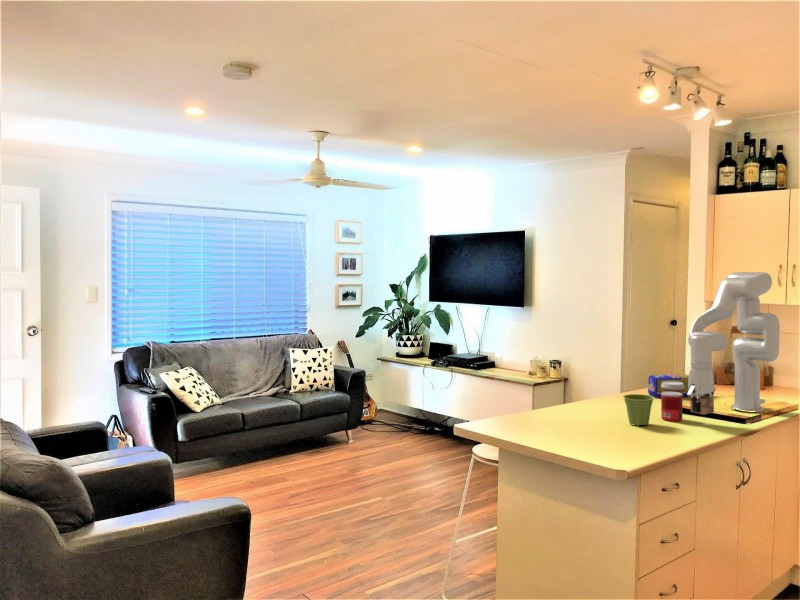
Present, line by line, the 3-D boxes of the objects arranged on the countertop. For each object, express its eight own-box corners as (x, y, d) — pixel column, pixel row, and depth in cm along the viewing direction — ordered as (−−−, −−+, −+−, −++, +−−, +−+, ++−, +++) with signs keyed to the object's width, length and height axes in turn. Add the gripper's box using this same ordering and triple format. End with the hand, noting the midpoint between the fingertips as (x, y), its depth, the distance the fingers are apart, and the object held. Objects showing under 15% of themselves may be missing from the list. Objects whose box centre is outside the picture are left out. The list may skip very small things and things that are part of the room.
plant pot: (655, 422, 257) (655, 394, 256) (653, 429, 246) (653, 400, 246) (624, 419, 262) (624, 392, 261) (621, 426, 251) (621, 398, 250)
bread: (645, 394, 308) (645, 373, 308) (695, 393, 309) (695, 372, 309) (654, 399, 298) (654, 377, 297) (706, 397, 299) (706, 376, 298)
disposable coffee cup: (661, 411, 274) (660, 384, 273) (660, 406, 282) (660, 380, 282) (685, 413, 270) (685, 385, 269) (684, 408, 279) (684, 381, 278)
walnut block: (700, 409, 255) (700, 394, 254) (713, 412, 249) (713, 397, 249) (690, 411, 252) (690, 396, 251) (703, 414, 247) (703, 399, 246)
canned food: (684, 422, 256) (684, 395, 255) (663, 421, 257) (663, 395, 256) (680, 417, 263) (679, 391, 262) (659, 417, 265) (659, 391, 264)
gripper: (707, 361, 256) (708, 405, 258) (678, 367, 248) (679, 412, 250) (724, 364, 250) (724, 408, 251) (694, 370, 242) (695, 416, 243)
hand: (702, 409), depth 251 cm, fingers closed on walnut block, 6 cm apart
